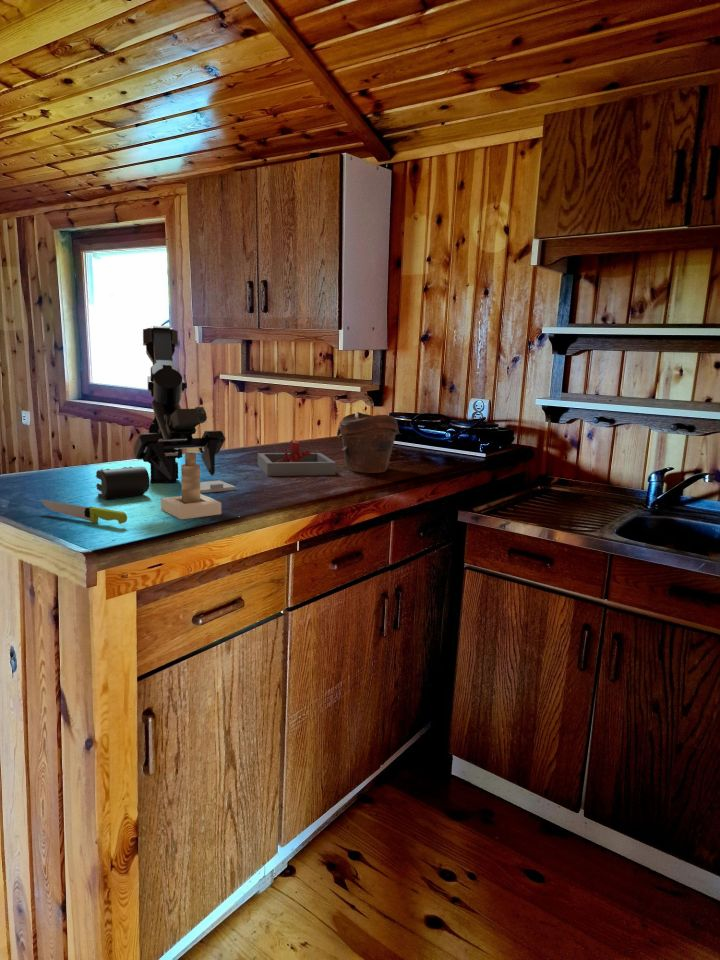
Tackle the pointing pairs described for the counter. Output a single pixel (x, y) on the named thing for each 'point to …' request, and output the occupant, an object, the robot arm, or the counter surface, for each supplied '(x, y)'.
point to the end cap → (122, 482)
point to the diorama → (294, 453)
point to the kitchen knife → (86, 512)
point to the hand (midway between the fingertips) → (192, 476)
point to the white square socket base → (190, 507)
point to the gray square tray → (296, 465)
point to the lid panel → (215, 486)
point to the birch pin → (190, 479)
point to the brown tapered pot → (367, 441)
